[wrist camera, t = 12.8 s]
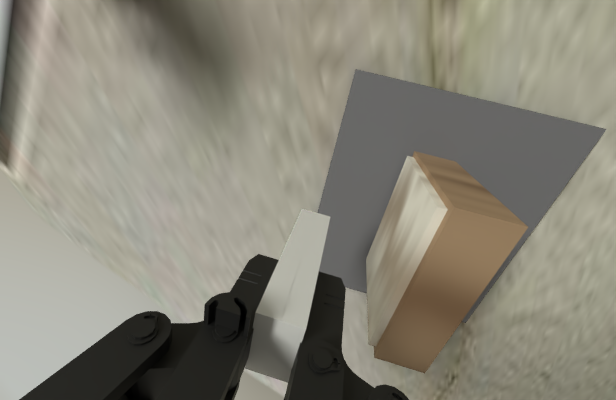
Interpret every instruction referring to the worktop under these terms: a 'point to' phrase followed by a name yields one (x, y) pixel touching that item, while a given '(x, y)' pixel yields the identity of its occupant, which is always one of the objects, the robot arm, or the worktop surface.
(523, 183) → the mat
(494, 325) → the worktop surface
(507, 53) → the worktop surface
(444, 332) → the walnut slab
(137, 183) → the worktop surface
